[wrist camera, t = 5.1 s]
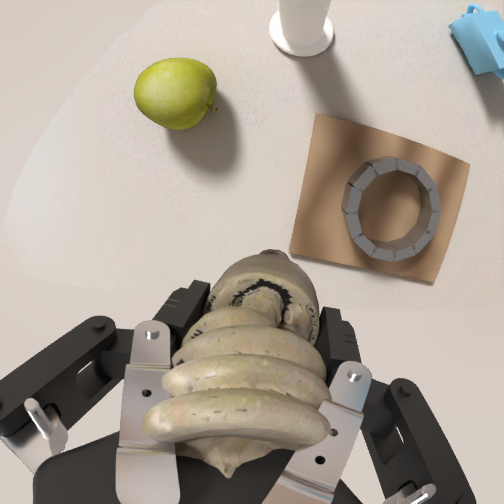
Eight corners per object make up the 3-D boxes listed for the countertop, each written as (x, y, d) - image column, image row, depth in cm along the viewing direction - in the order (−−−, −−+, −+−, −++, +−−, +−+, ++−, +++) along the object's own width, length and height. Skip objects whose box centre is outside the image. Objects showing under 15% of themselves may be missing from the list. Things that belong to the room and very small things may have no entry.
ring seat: (438, 172, 27) (450, 176, 24) (413, 258, 31) (422, 268, 29) (353, 146, 28) (360, 146, 25) (332, 240, 32) (335, 249, 29)
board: (466, 163, 27) (470, 164, 26) (431, 279, 33) (434, 282, 32) (315, 114, 28) (316, 113, 27) (288, 249, 34) (288, 253, 33)
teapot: (506, 91, 21) (540, 88, 14) (482, 100, 23) (517, 97, 16) (466, 13, 18) (494, -3, 11) (438, 18, 20) (465, -1, 13)
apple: (218, 139, 30) (195, 139, 23) (148, 121, 30) (112, 119, 23) (239, 75, 27) (223, 57, 20) (168, 61, 27) (135, 45, 20)
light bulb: (225, 221, 18) (69, 424, 4) (314, 214, 17) (354, 466, 3) (238, 299, 20) (159, 511, 6) (317, 296, 19) (324, 530, 5)
